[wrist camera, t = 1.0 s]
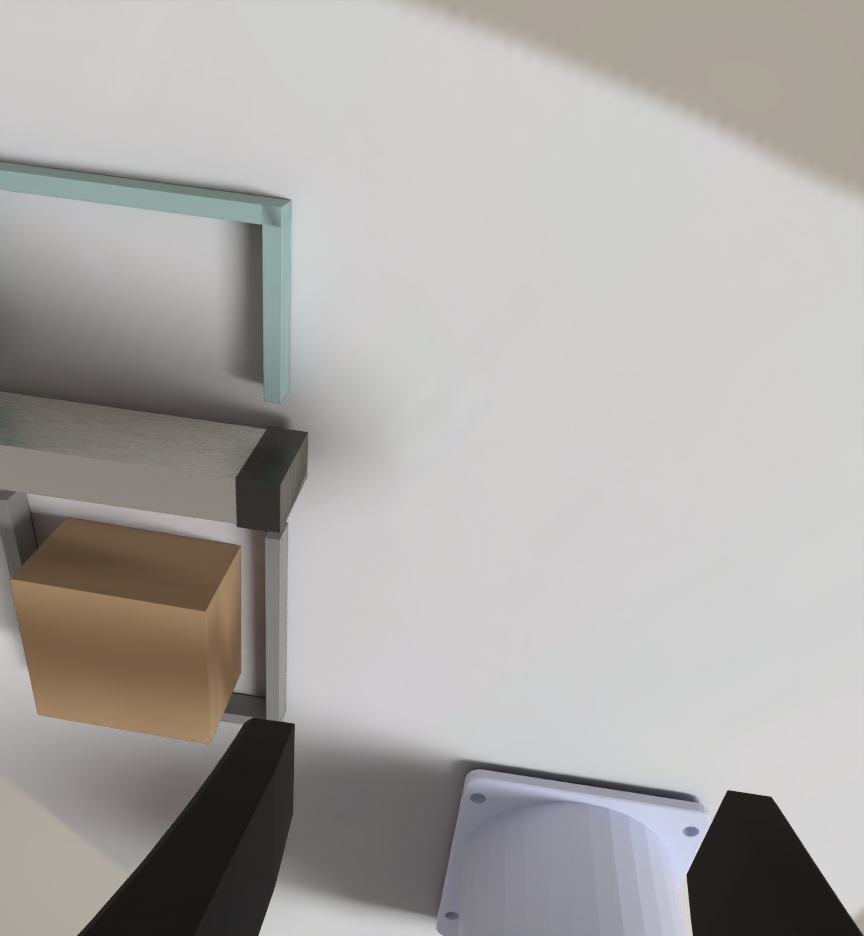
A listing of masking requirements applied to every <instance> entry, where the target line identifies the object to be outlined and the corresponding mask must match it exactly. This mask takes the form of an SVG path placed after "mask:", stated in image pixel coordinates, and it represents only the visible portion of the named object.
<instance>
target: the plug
mask: <svg viewBox="0 0 864 936" xmlns="http://www.w3.org/2000/svg"><path fill="white" fill-rule="evenodd" d="M10 583H11V588H12V593H13V598H14V602H15V607H16V612H17V617H18V622H19V627H20V631H21V636H22V641H23V646H24V651H25V656H26V660H27V665H28V670H29V675H30V680H31V685H32V689H33V694H34V699H35V704H36V709H37V714H38V715H41V716H47V717H53V718H59V719H65V720H71V721H76V722H82V723H88V724H94V725H100V726H106V727H111V728H117V729H123V730H129V731H135V732H141V733H146V734H152V735H158V736H164V737H170V738H176V739H181V740H187V741H193V742H199V743H205V744H210V743H211V741H212V738H213V736H214V734H215V731H216V729H217V727H218V725H219V722H220V720H221V718H222V715H223V713H224V711H225V708H226V706H227V704H228V702H229V699H230V697H231V695H232V692H233V690H234V688H235V685H236V683H237V681H238V678H239V676H240V674H241V546H238V545H232V544H226V543H220V542H214V541H208V540H202V539H196V538H190V537H184V536H178V535H172V534H166V533H160V532H154V531H147V530H141V529H135V528H129V527H123V526H117V525H111V524H105V523H99V522H93V521H87V520H81V519H75V518H69V517H67V518H66V519H65V520H64V521H63V522H62V524H61V525H60V526H59V527H58V528H57V529H56V530H55V531H54V532H53V533H52V534H51V535H50V536H49V537H48V538H47V540H46V541H45V542H44V543H43V544H42V545H41V546H40V547H39V548H38V549H37V550H36V551H35V552H34V553H33V554H32V556H31V557H30V558H29V559H28V560H27V561H26V562H25V563H24V564H23V565H22V566H21V567H20V568H19V569H18V570H17V572H16V573H15V574H14V575H13V576H12V577H11V578H10Z"/></svg>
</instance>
